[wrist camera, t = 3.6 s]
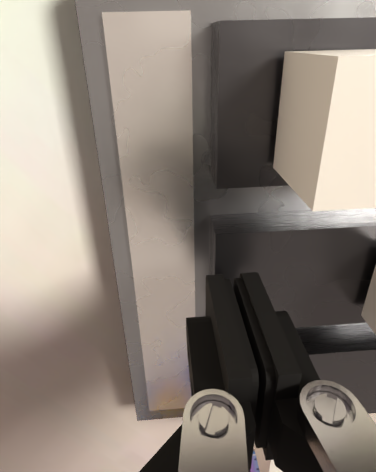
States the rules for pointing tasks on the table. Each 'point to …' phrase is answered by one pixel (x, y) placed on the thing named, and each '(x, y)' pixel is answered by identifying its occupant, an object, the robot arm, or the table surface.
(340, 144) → the cream upright box
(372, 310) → the matte ivory cube
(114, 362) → the table surface
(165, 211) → the panel
